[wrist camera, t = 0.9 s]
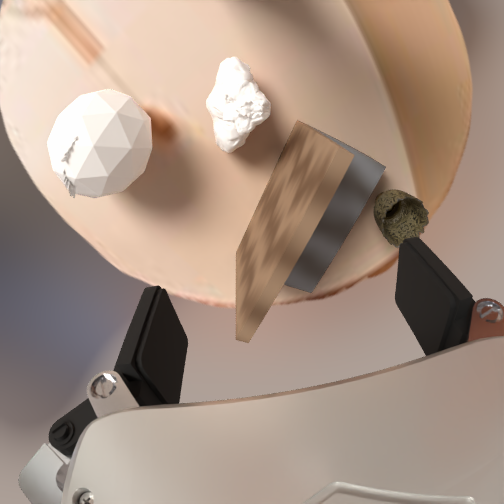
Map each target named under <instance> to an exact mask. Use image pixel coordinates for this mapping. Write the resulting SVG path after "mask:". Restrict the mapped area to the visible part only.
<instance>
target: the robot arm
mask: <svg viewBox="0 0 504 504" xmlns="http://www.w3.org/2000/svg"><path fill="white" fill-rule="evenodd" d="M472 297H473V296H472V295H471V293H470V292H469V291H468V290H467V289H466V288H465V286H464V285H463V284H462V283H461V282H460V281H459V280H458V279H457V277H456V276H455V275H454V274H453V273H452V272H451V271H450V270H449V269H448V268H447V266H446V265H445V264H444V263H443V262H442V261H441V260H440V259H439V258H438V257H437V256H436V255H435V254H434V253H433V252H432V251H431V249H429V247H428V246H427V245H426V244H425V243H424V242H422V240H421V239H420V238H419V237H411V238H407V239H404V240H403V243H401V244H400V246H399V260H398V272H397V283H396V292H395V301H396V304H397V306H398V308H399V309H400V311H401V313H402V314H403V316H404V318H405V319H406V321H407V323H408V325H409V326H410V328H411V330H412V331H413V333H414V335H415V336H416V339H417V340H418V342H419V344H420V346H421V347H422V349H423V351H424V353H425V355H426V356H425V357H422V358H419V359H416V360H412V361H409V362H406V363H403V364H400V365H397V366H393V367H390V368H386V369H383V370H379V371H376V372H372V373H368V374H364V375H360V376H356V377H353V378H348V379H344V380H340V381H336V382H331V383H327V384H322V385H317V386H313V387H307V388H302V389H296V390H291V391H285V392H279V393H273V394H267V395H259V396H252V397H245V398H236V399H227V400H217V401H206V402H195V403H181V404H179V400H180V393H181V386H182V379H183V373H184V366H185V360H186V353H187V347H188V339H187V336H186V334H185V332H184V329H183V327H182V325H181V323H180V321H179V319H178V316H177V314H176V312H175V310H174V308H173V305H172V303H171V301H170V299H169V296H168V294H167V292H166V290H165V289H164V288H163V289H161V287H160V286H153V287H147V288H145V289H144V292H143V294H142V296H141V299H140V301H139V304H138V306H137V309H136V311H135V314H134V316H133V319H132V322H131V324H130V326H129V329H128V331H127V334H126V337H125V340H124V342H123V345H122V348H121V351H120V354H119V356H118V359H117V362H116V365H115V368H114V371H111V370H110V371H109V370H107V371H103V372H101V373H98V374H97V375H96V376H94V377H93V378H92V380H91V381H90V382H89V384H88V387H87V395H88V399H87V400H85V401H84V402H82V403H81V404H80V405H78V406H77V407H76V408H74V409H73V410H71V411H70V412H69V413H67V414H66V415H64V416H63V417H62V418H60V419H59V420H57V421H56V422H55V423H54V424H53V425H52V427H51V429H50V432H49V442H50V443H49V444H48V445H47V444H46V443H44V444H43V445H42V447H41V448H40V449H39V450H38V451H37V453H36V454H35V455H34V456H33V457H32V459H31V460H30V461H29V462H28V464H27V465H26V466H25V467H24V469H23V470H22V471H21V473H20V475H19V479H18V481H19V486H20V488H21V490H22V491H23V493H24V494H25V495H26V497H27V498H28V499H29V501H30V502H31V504H504V306H503V305H502V304H501V303H499V302H498V301H496V300H493V299H490V298H483V299H480V300H478V301H476V302H475V301H474V300H473V299H472Z"/></svg>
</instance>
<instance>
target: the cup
mask: <svg viewBox="0 0 504 504" xmlns="http://www.w3.org/2000/svg"><path fill="white" fill-rule="evenodd" d="M428 214H429V212H428V210H427V209H425V208H424V206H423V202H422V201H421V200H419V199H417V198H415V197H413V196H411V195H409V194H408V193H405V192H403V191H400V190H389V191H386V192H382V193H380V194H379V195H378V196H377V198H376V200H375V206H374V217H375V220H376V223H377V225H378V227H379V228H380V230H381V232H382V234H383V236H384V237H385V238H386V239H387V240H388V242H389V243H390V244H391V245H392V244H393V245H394V246H395V247H397V248H398V247H399V246H400V244H401V243H403V240H404V239H407V238H411V237H419V232H421V233H424V228H423V227H424V226H426V225H427V224H428V217H427V215H428Z"/></svg>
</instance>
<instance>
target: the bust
mask: <svg viewBox="0 0 504 504" xmlns="http://www.w3.org/2000/svg"><path fill="white" fill-rule="evenodd" d="M206 106H207V109H208V111H209V113H210V114H211V116H212V119H213V123H214V134H215V138H216V144H217V145H218V146H219V147H220V148H221V150H223V151H226V152H227V153H231V152H233V151H234V150H235V149H237V148H238V147H241V146H243V144H244V143H245V139H246V138H247V137H248V136H249V133H250V132H251V131H252V130H253V129H254V128H255V127H256V125H260V124H261V123H262V122H263V121H264V120H266V119H267V118H268V117H269V116H270V110H271V103H270V101H269V100H268V99H267V98H266V97H265V95H264V94H263V93H262V92H261V91H260V90H259V87H258V85H257V83H256V82H255V81H254V80H253V75H252V74H251V73H250V67H249V65H248V64H246V63H244V62H242V61H241V60H240V59H239V58H237V57H232V58H227V59H226V60H224V61H223V62H222V63H221V64H220V68H219V71H218V74H217V77H216V83H215V87H214V88H213V91H212V93H211V94H210V95H209V97H208V99H207V100H206Z"/></svg>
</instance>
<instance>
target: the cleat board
mask: <svg viewBox="0 0 504 504" xmlns="http://www.w3.org/2000/svg"><path fill="white" fill-rule="evenodd" d="M385 168H386V167H385V166H383V165H382V164H380V163H379V162H377V161H376V160H374V159H373V158H371V157H369V156H367V155H365V154H364V153H362V152H360V151H358V150H356V149H354V148H353V147H351V146H349V145H347V144H345V143H343V142H341V141H339V140H337V139H335V138H333V137H331V136H329V135H327V134H325V133H323V132H321V131H319V130H317V129H315V128H313V127H311V126H309V125H306V124H304V123H302V122H300V121H298V120H297V122H296V124H295V126H294V128H293V130H292V132H291V135H290V137H289V139H288V141H287V143H286V145H285V147H284V150H283V152H282V154H281V156H280V158H279V160H278V163H277V165H276V167H275V169H274V171H273V173H272V175H271V178H270V180H269V182H268V184H267V186H266V188H265V191H264V193H263V195H262V197H261V199H260V202H259V204H258V206H257V208H256V210H255V213H254V215H253V217H252V219H251V221H250V223H249V226H248V228H247V230H246V232H245V235H244V237H243V239H242V241H241V243H240V246H239V248H238V250H237V252H236V340H239V341H243V342H247V343H249V341H250V340H251V338H252V336H253V335H254V333H255V332H256V330H257V328H258V327H259V325H260V323H261V322H262V320H263V319H264V317H265V315H266V314H267V312H268V310H269V308H270V307H271V305H272V303H273V302H274V300H275V298H276V297H277V295H278V293H279V292H280V290H281V288H282V287H283V285H287V286H290V287H294V288H297V289H300V290H303V291H307V292H310V293H312V292H313V290H314V289H315V287H316V285H317V284H318V282H319V281H320V279H321V278H322V276H323V274H324V273H325V271H326V270H327V268H328V267H329V265H330V263H331V262H332V260H333V258H334V257H335V255H336V254H337V252H338V250H339V249H340V247H341V245H342V244H343V242H344V240H345V239H346V237H347V235H348V234H349V232H350V230H351V229H352V227H353V225H354V224H355V222H356V220H357V218H358V217H359V215H360V213H361V211H362V210H363V208H364V206H365V204H366V203H367V201H368V199H369V197H370V196H371V194H372V192H373V190H374V188H375V187H376V185H377V183H378V181H379V179H380V177H381V176H382V174H383V172H384V170H385Z"/></svg>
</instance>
